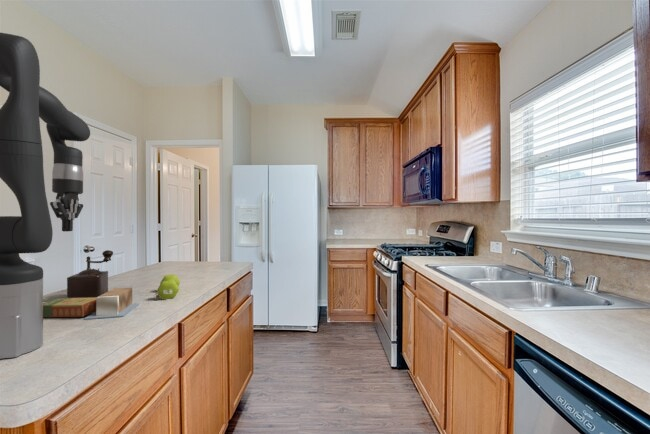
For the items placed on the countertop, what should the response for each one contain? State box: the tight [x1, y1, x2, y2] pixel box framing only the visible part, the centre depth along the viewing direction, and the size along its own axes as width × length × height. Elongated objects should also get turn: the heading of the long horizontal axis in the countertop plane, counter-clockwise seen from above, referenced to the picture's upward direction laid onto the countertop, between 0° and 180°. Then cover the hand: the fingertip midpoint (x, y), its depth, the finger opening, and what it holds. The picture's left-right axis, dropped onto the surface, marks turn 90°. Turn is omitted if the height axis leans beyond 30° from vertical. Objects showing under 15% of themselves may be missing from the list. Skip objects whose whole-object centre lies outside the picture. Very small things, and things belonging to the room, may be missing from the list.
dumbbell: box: [156, 274, 181, 300], centre depth 117 cm, size 16×8×7 cm, turn 25°
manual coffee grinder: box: [66, 249, 114, 298], centre depth 116 cm, size 16×11×18 cm
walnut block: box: [96, 286, 133, 316], centre depth 98 cm, size 6×6×12 cm
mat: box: [83, 303, 139, 321], centre depth 96 cm, size 13×11×1 cm
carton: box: [43, 297, 97, 318], centre depth 94 cm, size 8×16×4 cm, turn 88°
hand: (67, 231), depth 92 cm, fingers closed
